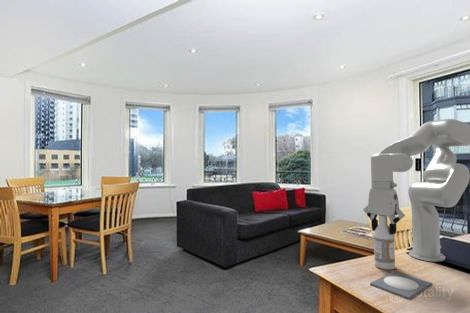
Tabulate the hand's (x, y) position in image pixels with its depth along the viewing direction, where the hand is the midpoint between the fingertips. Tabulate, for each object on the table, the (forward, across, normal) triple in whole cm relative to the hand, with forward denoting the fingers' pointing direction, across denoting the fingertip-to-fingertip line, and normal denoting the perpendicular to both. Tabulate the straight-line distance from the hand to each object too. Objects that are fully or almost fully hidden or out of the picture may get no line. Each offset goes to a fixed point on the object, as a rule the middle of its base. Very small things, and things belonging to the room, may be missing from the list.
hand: (383, 231), depth 107 cm
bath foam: (+14, 0, 0) cm, 14 cm away
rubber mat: (+14, -11, +11) cm, 21 cm away
